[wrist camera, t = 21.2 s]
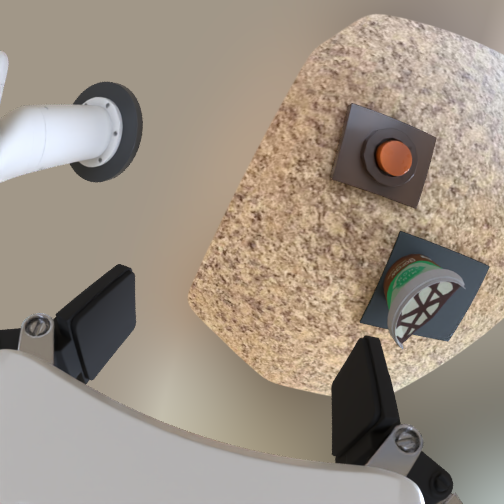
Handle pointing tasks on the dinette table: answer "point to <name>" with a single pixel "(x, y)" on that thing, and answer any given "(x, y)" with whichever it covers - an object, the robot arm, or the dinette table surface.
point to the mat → (455, 305)
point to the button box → (364, 155)
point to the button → (394, 157)
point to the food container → (416, 293)
